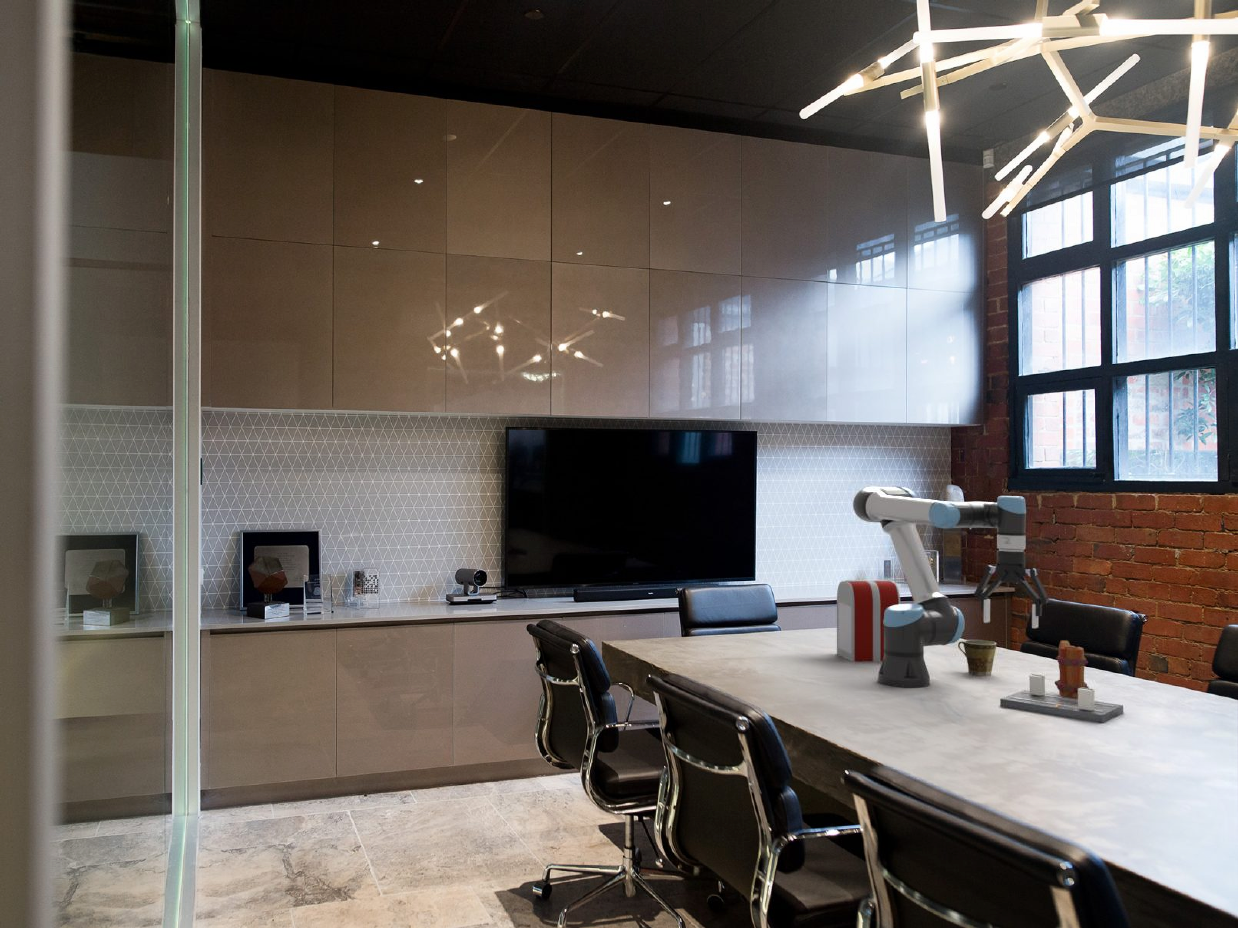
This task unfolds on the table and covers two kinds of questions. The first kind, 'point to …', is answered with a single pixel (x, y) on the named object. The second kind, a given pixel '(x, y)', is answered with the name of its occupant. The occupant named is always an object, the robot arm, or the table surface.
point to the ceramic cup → (979, 656)
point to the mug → (1070, 669)
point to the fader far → (1037, 684)
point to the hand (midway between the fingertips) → (1010, 624)
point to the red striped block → (863, 618)
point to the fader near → (1085, 698)
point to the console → (1061, 706)
